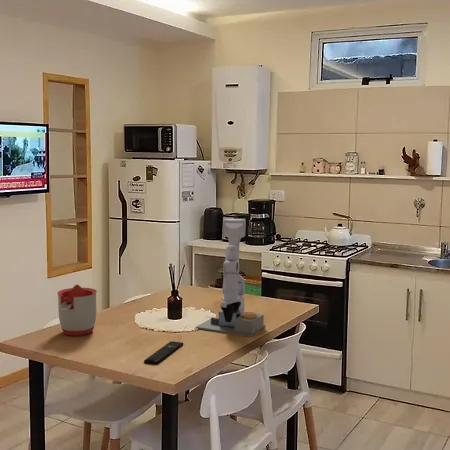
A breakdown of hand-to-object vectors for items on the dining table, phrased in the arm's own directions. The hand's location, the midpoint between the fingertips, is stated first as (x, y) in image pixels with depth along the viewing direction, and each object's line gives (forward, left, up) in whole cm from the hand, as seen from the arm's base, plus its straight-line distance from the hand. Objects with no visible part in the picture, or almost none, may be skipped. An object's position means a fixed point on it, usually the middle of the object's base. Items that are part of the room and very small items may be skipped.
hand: (230, 320), depth 263 cm
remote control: (+41, -8, -4) cm, 42 cm away
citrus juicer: (+35, -53, -3) cm, 64 cm away
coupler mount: (0, 0, -3) cm, 3 cm away
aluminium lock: (0, 0, -2) cm, 2 cm away
